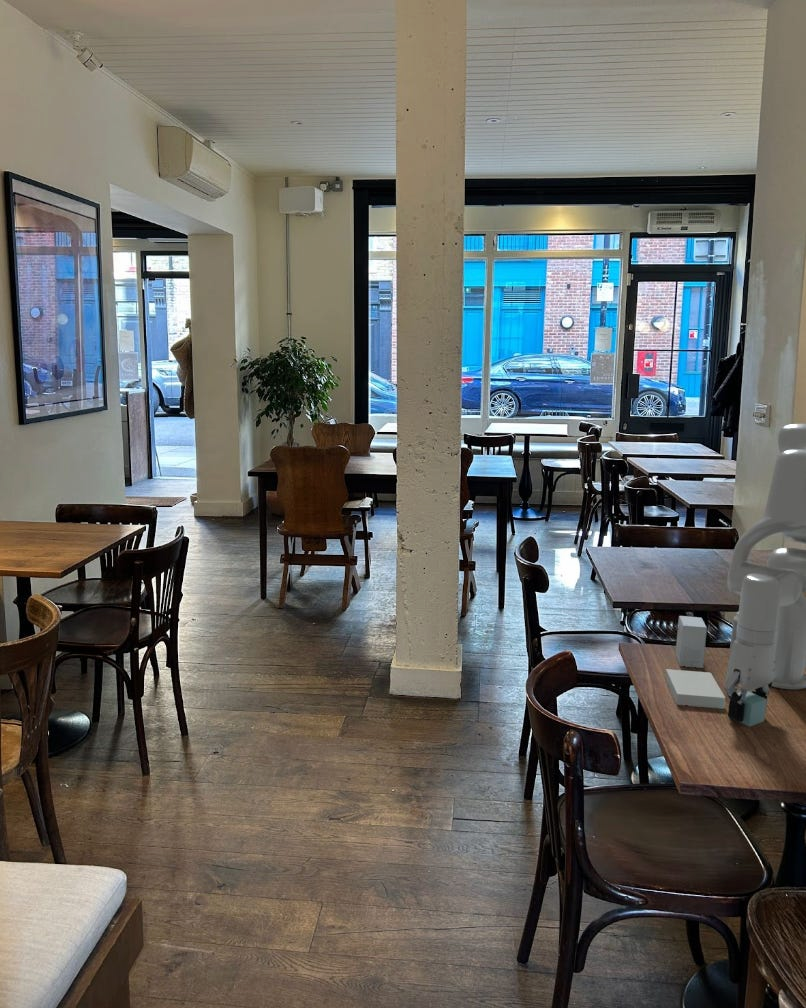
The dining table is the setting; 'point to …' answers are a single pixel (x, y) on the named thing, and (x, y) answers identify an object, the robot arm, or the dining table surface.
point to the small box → (691, 641)
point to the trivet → (694, 689)
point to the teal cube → (753, 709)
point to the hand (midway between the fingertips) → (746, 714)
